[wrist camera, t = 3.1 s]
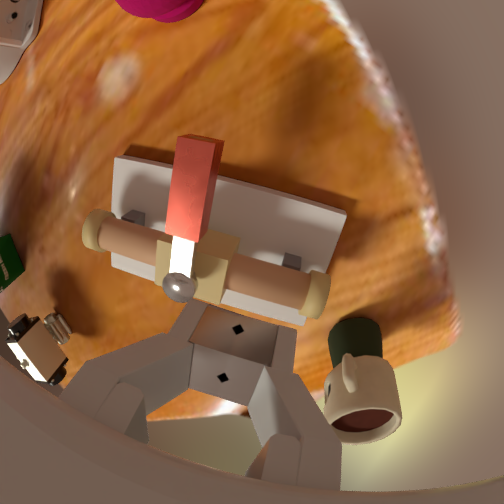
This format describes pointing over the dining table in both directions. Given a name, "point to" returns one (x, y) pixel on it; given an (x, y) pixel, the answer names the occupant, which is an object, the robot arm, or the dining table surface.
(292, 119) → the dining table surface
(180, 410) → the dining table surface
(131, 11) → the pepper mill
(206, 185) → the lever
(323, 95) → the dining table surface
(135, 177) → the board
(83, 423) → the robot arm
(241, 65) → the dining table surface
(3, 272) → the milk carton
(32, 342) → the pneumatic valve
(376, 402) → the character mug
